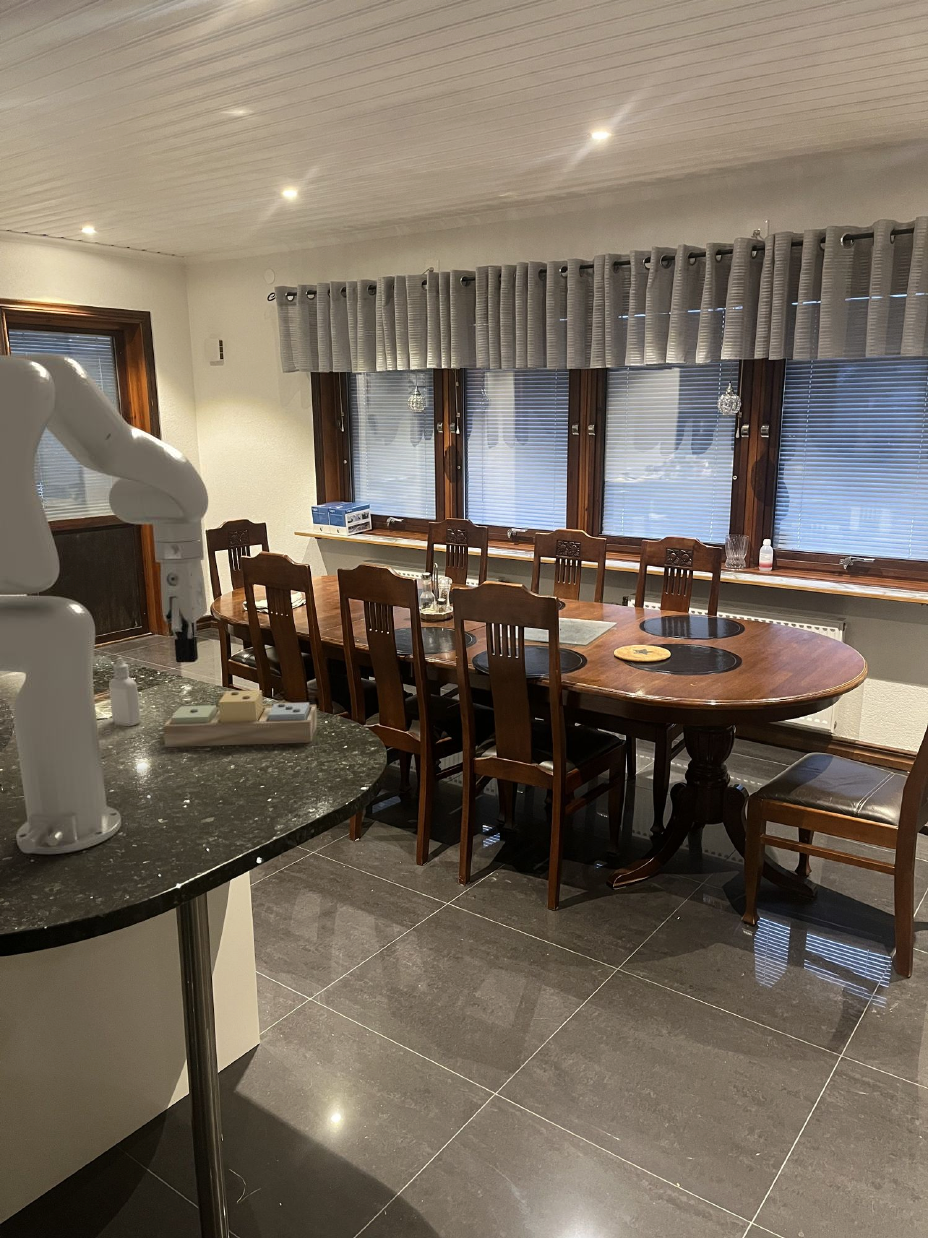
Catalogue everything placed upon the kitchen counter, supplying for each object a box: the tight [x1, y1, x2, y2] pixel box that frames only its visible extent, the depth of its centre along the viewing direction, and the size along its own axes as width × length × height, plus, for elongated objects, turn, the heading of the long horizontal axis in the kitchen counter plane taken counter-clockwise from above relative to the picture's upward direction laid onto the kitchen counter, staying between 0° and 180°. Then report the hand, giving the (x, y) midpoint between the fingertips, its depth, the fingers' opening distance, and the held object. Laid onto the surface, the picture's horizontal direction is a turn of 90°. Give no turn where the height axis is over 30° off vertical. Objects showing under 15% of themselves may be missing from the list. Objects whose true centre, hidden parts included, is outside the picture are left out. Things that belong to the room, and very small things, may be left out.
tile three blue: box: [268, 702, 310, 721], centre depth 152 cm, size 6×6×4 cm
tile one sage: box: [170, 704, 217, 724], centre depth 151 cm, size 6×6×4 cm
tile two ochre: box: [218, 689, 264, 722], centre depth 151 cm, size 6×6×4 cm
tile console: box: [162, 704, 318, 748], centre depth 152 cm, size 9×24×4 cm, turn 92°
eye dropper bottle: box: [108, 657, 142, 727], centre depth 158 cm, size 4×6×12 cm
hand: (187, 661), depth 148 cm, fingers closed
